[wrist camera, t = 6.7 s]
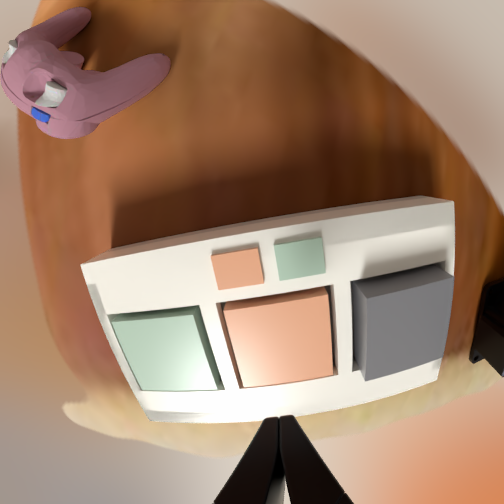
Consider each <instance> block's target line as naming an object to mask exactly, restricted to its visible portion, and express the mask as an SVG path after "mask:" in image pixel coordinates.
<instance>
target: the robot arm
mask: <svg viewBox="0 0 504 504" xmlns="http://www.w3.org/2000/svg"><path fill="white" fill-rule="evenodd" d="M484 358H485V359H486V360H487V361H488V363H489V364H490V365H491V366H492V367H493V368H494V369H495V370H496V371H497V372H498V373H499V374H500V375H501V376H502V377H504V278H502V279H499V280H497V281H494V282H491V283H488V284H487V285H486V286H485V287H484V289H483V294H482V301H481V307H480V313H479V318H478V323H477V328H476V333H475V337H474V341H473V346H472V349H471V353H470V357H469V360H470V361H471V362H472V363H473V364H474V363H476V362H478V361H480V360H482V359H484ZM285 479H286V484H287V488H288V493H289V497H290V502H291V504H354V503H353V502H352V500H351V499H350V498H349V496H348V495H347V494H346V493H345V491H344V490H343V488H342V487H341V486H340V484H339V483H338V481H337V480H336V479H335V477H334V476H333V474H332V473H331V471H330V470H329V468H328V467H327V466H326V464H325V463H324V461H323V460H322V458H321V457H320V455H319V454H318V452H317V451H316V449H315V448H314V446H313V445H312V443H311V442H310V440H309V439H308V437H307V436H306V434H305V433H304V431H303V429H302V428H301V426H300V425H299V423H298V422H297V420H296V419H295V417H294V416H293V415H284V416H280V417H277V416H275V417H267V418H265V419H264V420H263V422H262V424H261V426H260V427H259V429H258V431H257V433H256V434H255V436H254V438H253V440H252V441H251V443H250V445H249V447H248V448H247V450H246V452H245V453H244V455H243V457H242V458H241V460H240V462H239V463H238V465H237V467H236V468H235V470H234V471H233V473H232V475H231V476H230V478H229V479H228V481H227V482H226V484H225V485H224V487H223V488H222V490H221V491H220V493H219V494H218V496H217V497H216V499H215V500H214V503H213V504H283V501H284V491H285Z"/></svg>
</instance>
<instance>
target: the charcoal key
mask: <svg viewBox="0 0 504 504" xmlns="http://www.w3.org/2000/svg"><path fill="white" fill-rule="evenodd" d="M453 287H454V276H452V275H451V274H449V273H448V272H446V271H444V270H443V269H441V268H439V267H438V266H436V265H434V264H433V263H432V264H428V265H424V266H419V267H415V268H411V269H406V270H402V271H397V272H392V273H388V274H383V275H378V276H373V277H368V278H363V279H358V280H353V281H352V299H353V330H354V357H355V360H356V362H357V364H358V367H359V369H360V371H361V374H362V376H363V378H364V381H369V380H373V379H377V378H381V377H384V376H388V375H391V374H395V373H398V372H401V371H405V370H408V369H411V368H414V367H417V366H420V365H423V364H426V363H429V362H431V361H434V360H437V359H439V358H442V357H443V354H444V349H445V344H446V339H447V333H448V327H449V321H450V314H451V306H452V297H453Z"/></svg>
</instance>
